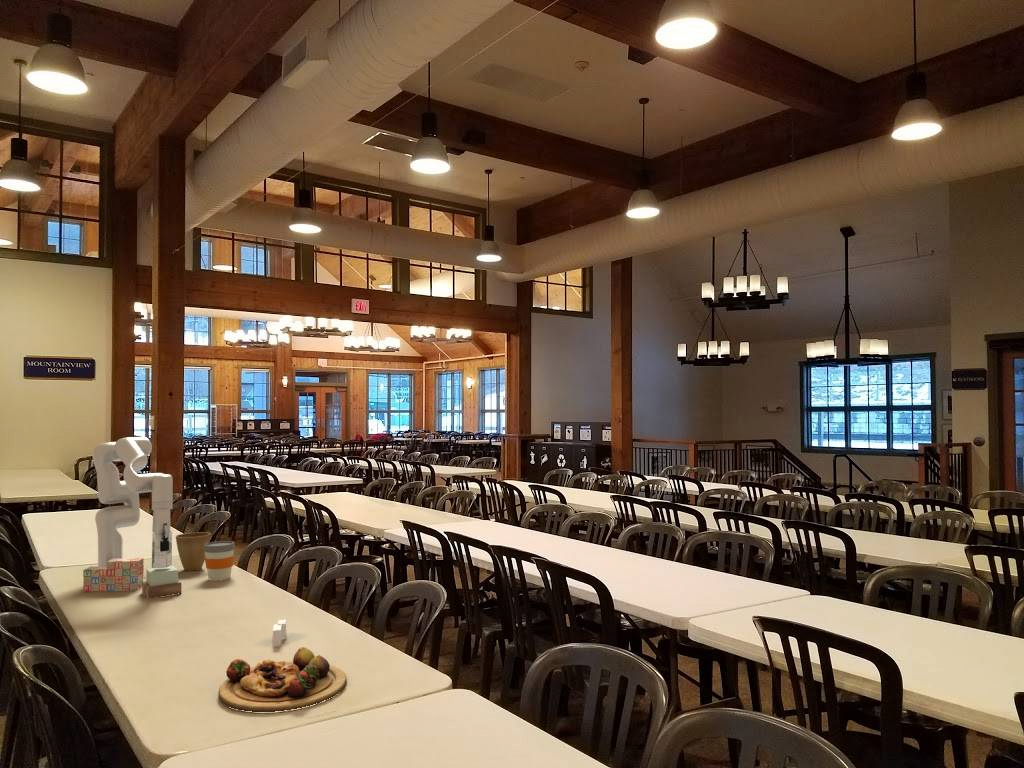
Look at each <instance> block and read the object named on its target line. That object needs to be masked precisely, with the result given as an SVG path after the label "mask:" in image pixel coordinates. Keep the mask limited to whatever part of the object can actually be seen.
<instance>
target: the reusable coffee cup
mask: <svg viewBox="0 0 1024 768" xmlns="http://www.w3.org/2000/svg"><path fill="white" fill-rule="evenodd" d="M235 549H236V547H235V542H234V541H232V540H231V541H230V540H224V541H221V540H220V541H211V542H209V543H207V544H205V547H204V552H205V561H204V564H205V568H206V571H207V577H208V578H209V579H211V580H210V581H213V580H218V581H222V580H221V579H225V580H228V579H227V578H229V579H231V577H232V568H233V566H234V561H235V559H234V558H235V555H234V553H235V552H234V551H235ZM209 579H208V580H209Z"/></svg>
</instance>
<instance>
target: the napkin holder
mask: <svg viewBox="0 0 1024 768" xmlns="http://www.w3.org/2000/svg"><path fill="white" fill-rule="evenodd" d="M286 637H287V619H279V620H278V621H277V624H276V623H275V624H273V628H272V647H281V646H282V641H284V640H285V639H286ZM283 639H284V640H283Z"/></svg>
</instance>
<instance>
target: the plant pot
mask: <svg viewBox="0 0 1024 768" xmlns="http://www.w3.org/2000/svg"><path fill="white" fill-rule="evenodd" d="M210 541H211V533H210V532H203V531H201V532H187V533H181V534H177V535H175V542H176V547H177V552H178V556H179V560H180V562H181V565H182V568H183V571H187V572H190V571H191V572H192V571H193V570H195V571H200V570H202V569H203V566H204V564H205V552H204V547H205V544H207V543H210ZM199 569H200V570H199Z"/></svg>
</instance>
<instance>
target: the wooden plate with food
mask: <svg viewBox="0 0 1024 768" xmlns="http://www.w3.org/2000/svg"><path fill="white" fill-rule="evenodd" d="M225 673H226V677H227V679H226V680H224V681H223V683H221V685H220V687H219V688H218V694H217V695H218V699H219V701H220V702H221V703H222V704H223V705H224V704H225V705H226V706H225V705H224V706H225V707H227V706H228V707H231V708H234V709H238V710H244V711H252V712H275V711H284V710H291V709H297V708H302V707H306V706H310V705H313V704H316V703H320V702H322V701H324V700H327V699H329V698H331V697H333V696H335V695H336V694H338V693H339V692H340V693H341V692H342V691H344V690H345V688H346V686H347V683H348V682H347V680H348V679H347V675H346V674H345V672H344V671H343V670H342V669H341V668H339V667H337V666H336V665H334V664H333V665H332V664H330V663H329V661H328V660H327V659H326V658H325V657H323V656H322V655H320V654H318V655H315V653H314V652H313V651H312V650H311V649H309V648H307V647H304V646H300V647H299V648H298V649H297V651H296V652H295V654H294V655H293V659H292V660H288V661H287V660H286V661H284V660H283V661H274V660H271V659H270V660H269V659H267V660H263V661H262V662H258V663H257V664H256V665H255V666H253V667H251V666H250V664H249V663H248V662H247V661H245V660H243V658H242V659H241V658H236V659H233V660H231V662H230V664H229V665H228V667H227V669H226V672H225ZM340 693H339V694H340ZM339 694H338V695H339ZM336 696H337V695H336ZM336 696H335V697H336ZM333 698H334V697H333ZM331 699H332V698H331ZM327 701H328V700H327ZM320 704H321V703H320ZM228 707H227V708H228ZM231 708H230V709H231ZM234 709H233V710H234Z"/></svg>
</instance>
